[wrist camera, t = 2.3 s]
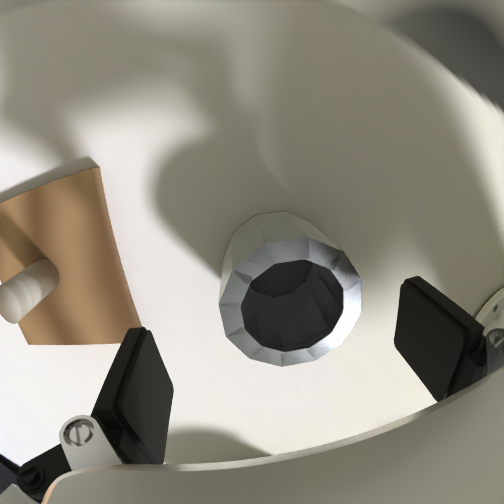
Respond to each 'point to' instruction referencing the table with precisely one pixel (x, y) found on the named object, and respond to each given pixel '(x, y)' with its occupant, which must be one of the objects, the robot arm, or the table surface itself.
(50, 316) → the wooden peg base
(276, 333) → the sleeve
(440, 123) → the table surface
